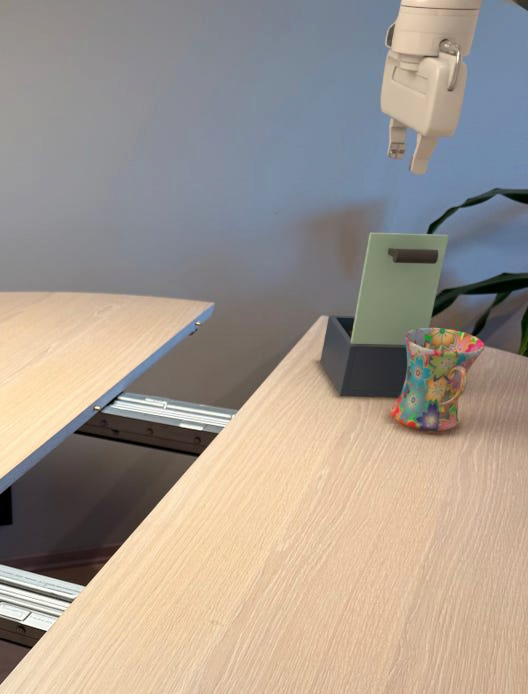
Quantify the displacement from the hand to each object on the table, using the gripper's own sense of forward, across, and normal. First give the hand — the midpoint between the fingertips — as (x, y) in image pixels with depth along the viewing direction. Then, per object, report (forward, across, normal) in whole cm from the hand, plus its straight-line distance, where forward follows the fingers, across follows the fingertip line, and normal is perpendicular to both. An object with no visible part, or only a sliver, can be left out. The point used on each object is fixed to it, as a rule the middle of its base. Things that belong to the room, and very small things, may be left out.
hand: (405, 165), depth 123 cm
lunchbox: (+27, -2, 0) cm, 27 cm away
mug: (+27, -18, -4) cm, 33 cm away
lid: (+13, -7, 0) cm, 15 cm away
